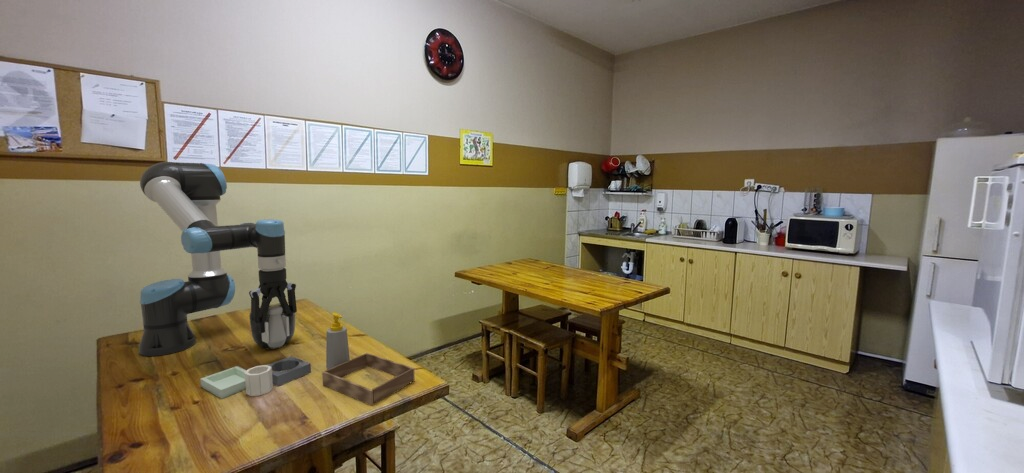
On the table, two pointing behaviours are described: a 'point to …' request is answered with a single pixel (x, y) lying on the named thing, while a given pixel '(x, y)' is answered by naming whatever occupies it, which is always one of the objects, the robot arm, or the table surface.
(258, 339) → the planter
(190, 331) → the robot arm
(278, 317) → the salt shaker
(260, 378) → the octagonal gray cup
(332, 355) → the soap bottle
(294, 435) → the table surface
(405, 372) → the book tray
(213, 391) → the mint green tray
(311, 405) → the table surface
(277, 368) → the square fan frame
